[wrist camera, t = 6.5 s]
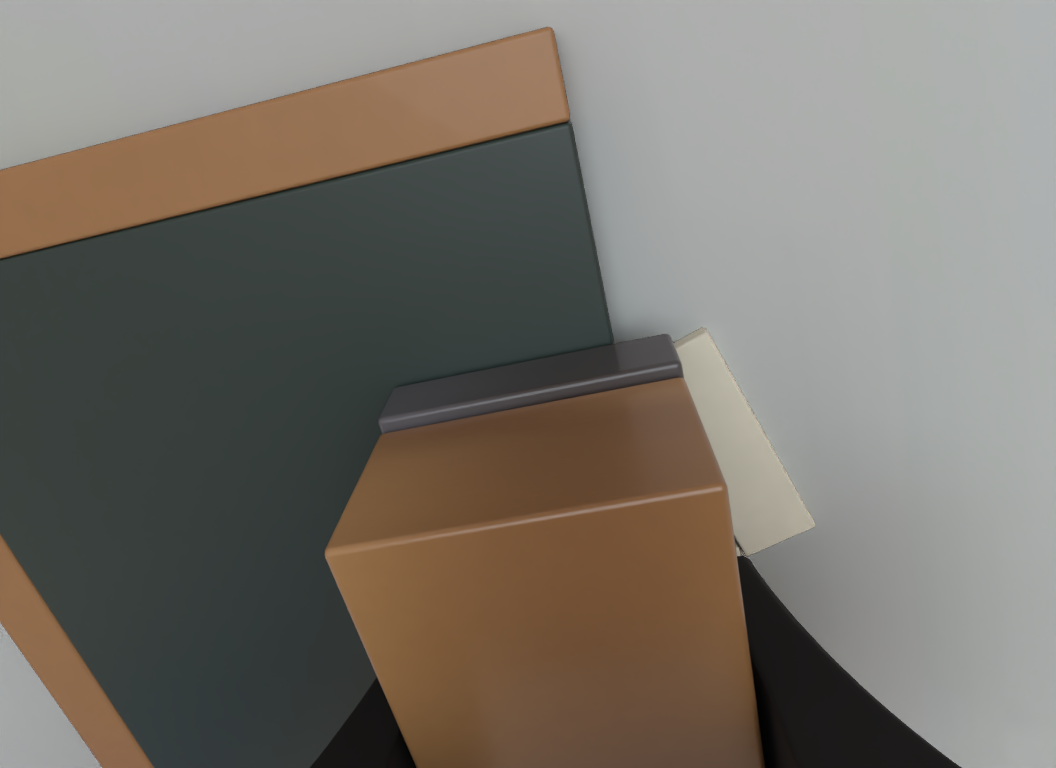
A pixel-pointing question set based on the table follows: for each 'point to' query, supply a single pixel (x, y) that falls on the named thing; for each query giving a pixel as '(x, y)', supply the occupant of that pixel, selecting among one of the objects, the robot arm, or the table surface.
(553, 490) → the duster
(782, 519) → the chalk mark
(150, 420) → the chalkboard
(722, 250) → the table surface
